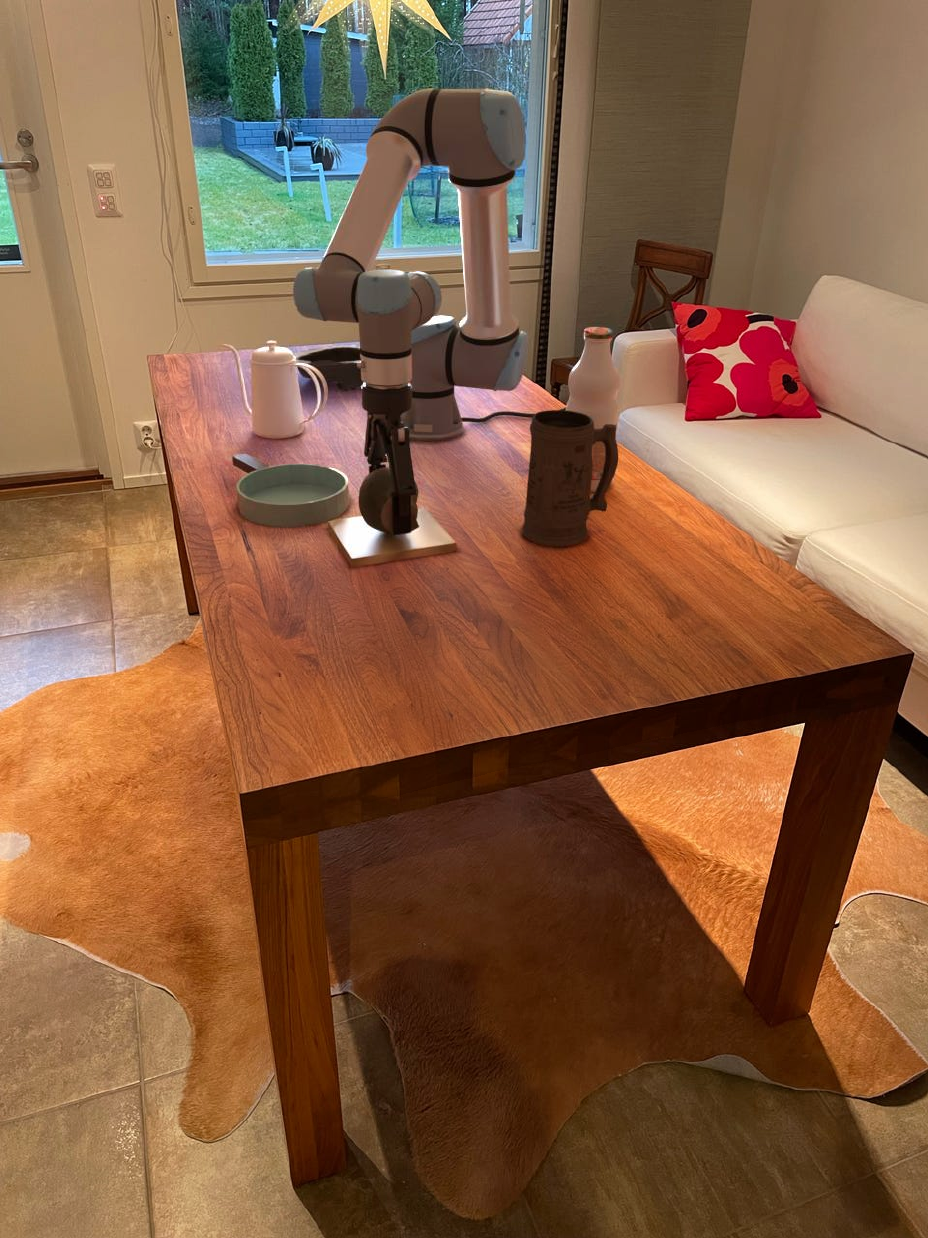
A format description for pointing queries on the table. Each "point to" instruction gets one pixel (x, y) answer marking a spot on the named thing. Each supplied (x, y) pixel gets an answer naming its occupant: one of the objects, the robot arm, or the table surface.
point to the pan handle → (247, 463)
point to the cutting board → (389, 540)
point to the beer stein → (565, 476)
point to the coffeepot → (276, 391)
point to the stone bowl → (334, 365)
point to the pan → (292, 495)
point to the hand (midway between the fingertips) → (390, 517)
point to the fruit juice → (595, 390)
